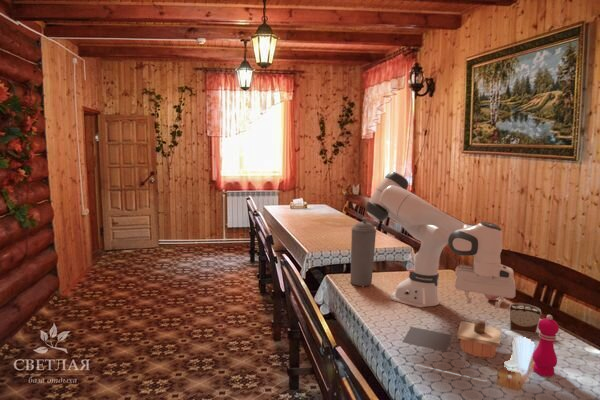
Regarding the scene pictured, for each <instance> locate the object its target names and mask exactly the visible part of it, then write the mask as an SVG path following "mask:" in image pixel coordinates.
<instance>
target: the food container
mask: <svg viewBox="0 0 600 400" xmlns="http://www.w3.org/2000/svg"><path fill="white" fill-rule="evenodd" d="M507 310H508V312H509V325H510V327H509V328H510V329H509V330H511V331H515V332H521V333H529V334H535V335H536V334H537V331H538V324H539V322H540V317H541V316H543V313H542V310H541V308H539V307H537V306H534V305H532V304H528V303H523V302H515V303H510V305H509V307H508V309H507Z"/></svg>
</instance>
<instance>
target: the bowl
mask: <svg viewBox="0 0 600 400" xmlns="http://www.w3.org/2000/svg"><path fill="white" fill-rule="evenodd" d="M459 345H460V347H459V348H460V349H461V350H462V351H463V352H464V353H466V354H469V355H470V356H476V357H479V358H488V359H491V358H493V357H496V355H497V354H496V353H497V346H493V345H488V344H483V343H478V342H474V341H469V340H464V339H460V344H459Z"/></svg>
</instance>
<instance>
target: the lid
mask: <svg viewBox="0 0 600 400" xmlns="http://www.w3.org/2000/svg"><path fill="white" fill-rule="evenodd" d="M501 331H502V329H501V328H499V327H494V326H490V325H486V322H485V321H484V320H481V319H478V320H475V321H474V323H473V322H469V321H468V322H467V321H462V320H461V321H460V324H459V327H458V330H457V333H456V339H460V340H461V339H464V340H469V341H474V342H478V343H483V344H488V345H493V346H496V347H499V348H500V343H501V342H500V341H501Z"/></svg>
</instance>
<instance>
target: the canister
mask: <svg viewBox="0 0 600 400" xmlns="http://www.w3.org/2000/svg"><path fill="white" fill-rule="evenodd" d="M366 220H368V217H362V221H359V222H356V223H355V225H354V226H353V227H351V244H350V245H351V246H350V247H351V249H350V283H351V285H354V286H356V287H357V286H358V287H368V286H371V285H372V283H373V281H372V280H373V269H374V259H375V249H376V248H375V246H376V235H377V234H376V233H377V229H376V228H375V227H374V225H373V224H372V223H370V222H367V221H366Z"/></svg>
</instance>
